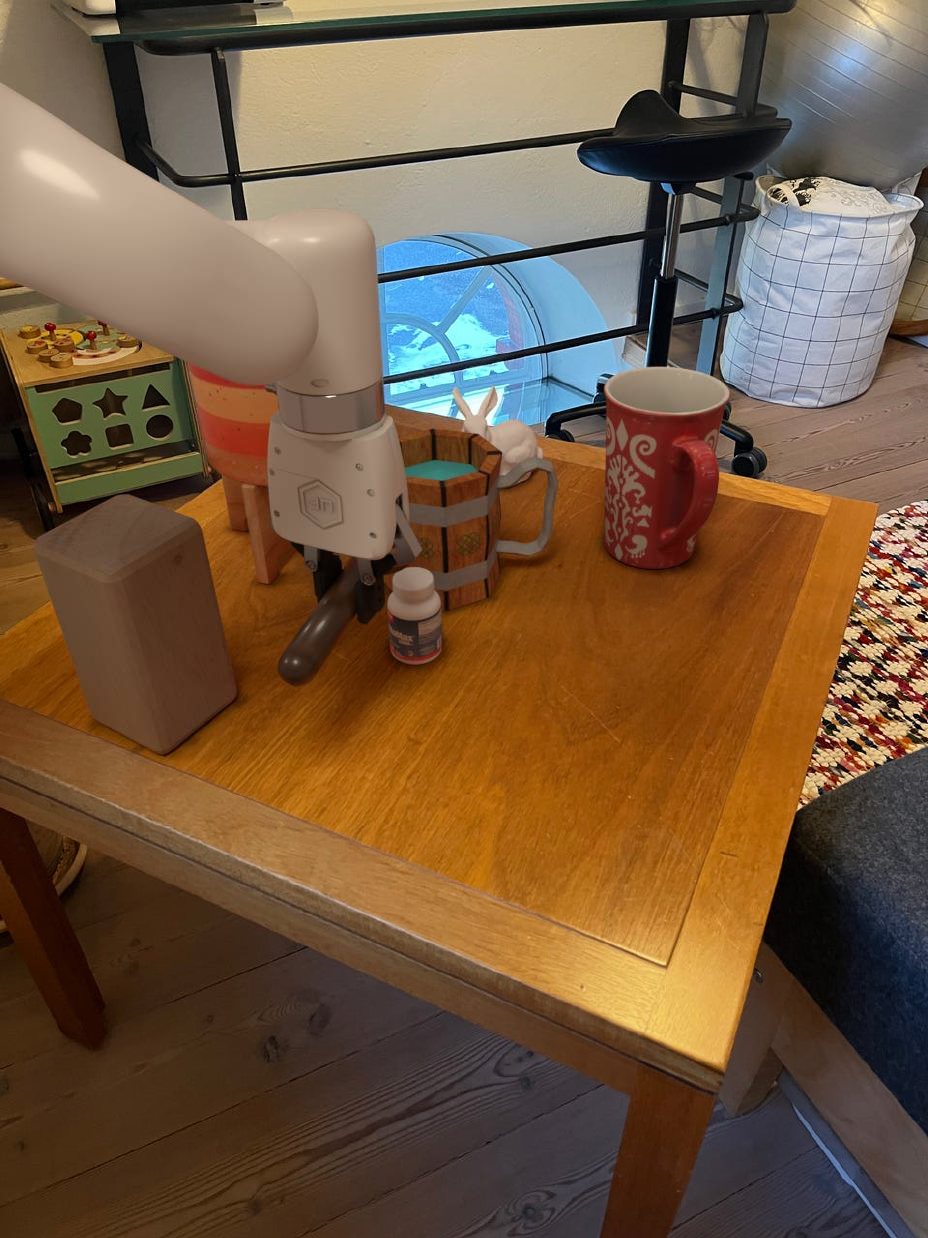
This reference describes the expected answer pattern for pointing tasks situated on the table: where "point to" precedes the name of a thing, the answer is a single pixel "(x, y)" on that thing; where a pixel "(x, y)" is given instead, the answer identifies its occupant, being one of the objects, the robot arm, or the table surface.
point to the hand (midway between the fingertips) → (351, 608)
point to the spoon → (323, 628)
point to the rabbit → (500, 433)
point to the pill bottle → (414, 617)
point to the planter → (241, 458)
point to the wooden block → (139, 619)
